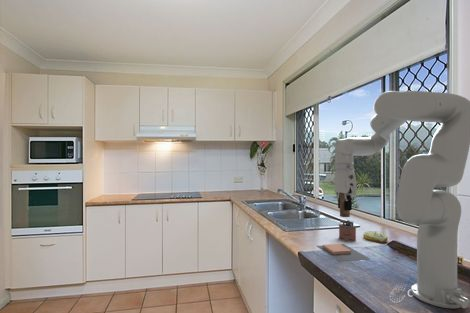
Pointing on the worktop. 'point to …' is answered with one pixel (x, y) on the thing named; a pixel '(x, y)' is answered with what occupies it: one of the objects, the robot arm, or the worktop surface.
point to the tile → (336, 249)
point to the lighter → (347, 230)
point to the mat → (346, 255)
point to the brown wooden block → (343, 212)
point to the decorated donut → (375, 236)
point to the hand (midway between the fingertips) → (344, 208)
